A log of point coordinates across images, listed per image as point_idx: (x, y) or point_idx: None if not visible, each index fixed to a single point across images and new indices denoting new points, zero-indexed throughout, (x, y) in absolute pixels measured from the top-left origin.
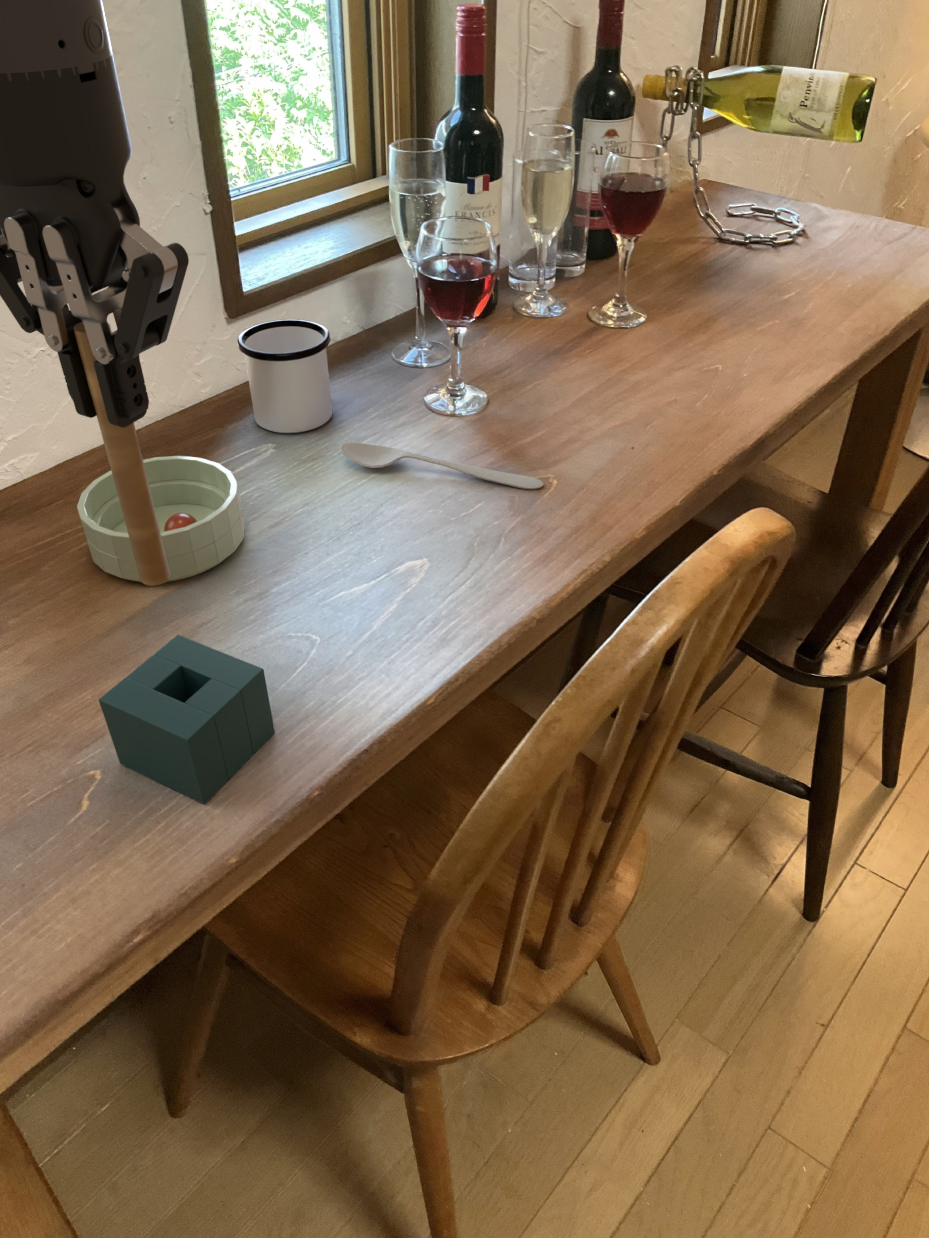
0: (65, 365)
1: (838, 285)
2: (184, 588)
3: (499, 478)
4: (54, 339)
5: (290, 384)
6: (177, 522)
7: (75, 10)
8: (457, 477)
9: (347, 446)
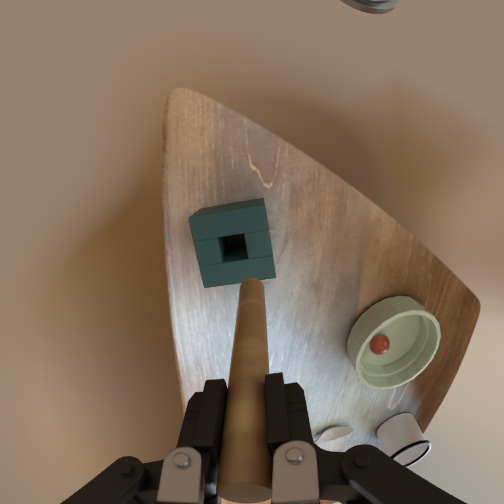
0: (282, 425)
1: None
2: (352, 316)
3: None
4: (287, 459)
5: (393, 441)
6: (380, 346)
7: None
8: None
9: (349, 430)
